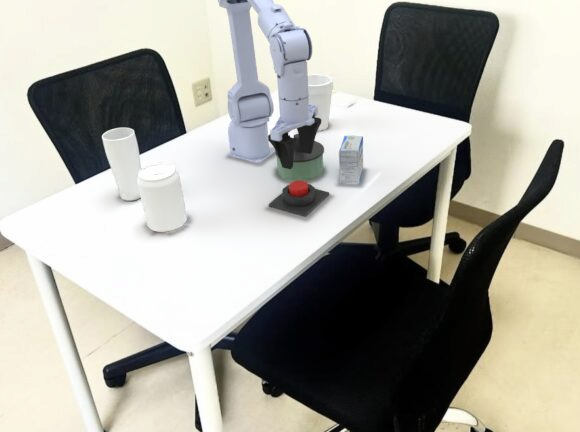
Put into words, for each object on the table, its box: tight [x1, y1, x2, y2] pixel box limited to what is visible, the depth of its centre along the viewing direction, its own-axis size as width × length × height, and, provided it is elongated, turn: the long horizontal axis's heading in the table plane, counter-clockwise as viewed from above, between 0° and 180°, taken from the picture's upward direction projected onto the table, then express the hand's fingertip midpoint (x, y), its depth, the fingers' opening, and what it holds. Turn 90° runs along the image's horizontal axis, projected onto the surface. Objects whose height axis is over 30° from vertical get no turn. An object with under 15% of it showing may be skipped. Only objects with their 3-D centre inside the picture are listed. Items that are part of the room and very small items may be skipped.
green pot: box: [276, 154, 324, 182], centre depth 129 cm, size 10×10×5 cm
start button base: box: [268, 183, 330, 218], centre depth 117 cm, size 9×10×3 cm
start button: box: [288, 181, 309, 196], centre depth 116 cm, size 4×4×2 cm
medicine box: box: [338, 135, 364, 185], centre depth 124 cm, size 8×4×9 cm, turn 168°
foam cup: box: [308, 73, 334, 132], centre depth 149 cm, size 10×9×13 cm
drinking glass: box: [101, 127, 142, 202], centre depth 120 cm, size 7×7×15 cm
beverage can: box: [137, 162, 188, 233], centre depth 111 cm, size 8×8×12 cm
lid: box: [274, 133, 325, 162], centre depth 126 cm, size 11×11×4 cm
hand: (297, 159), depth 113 cm, fingers open, 7 cm apart
